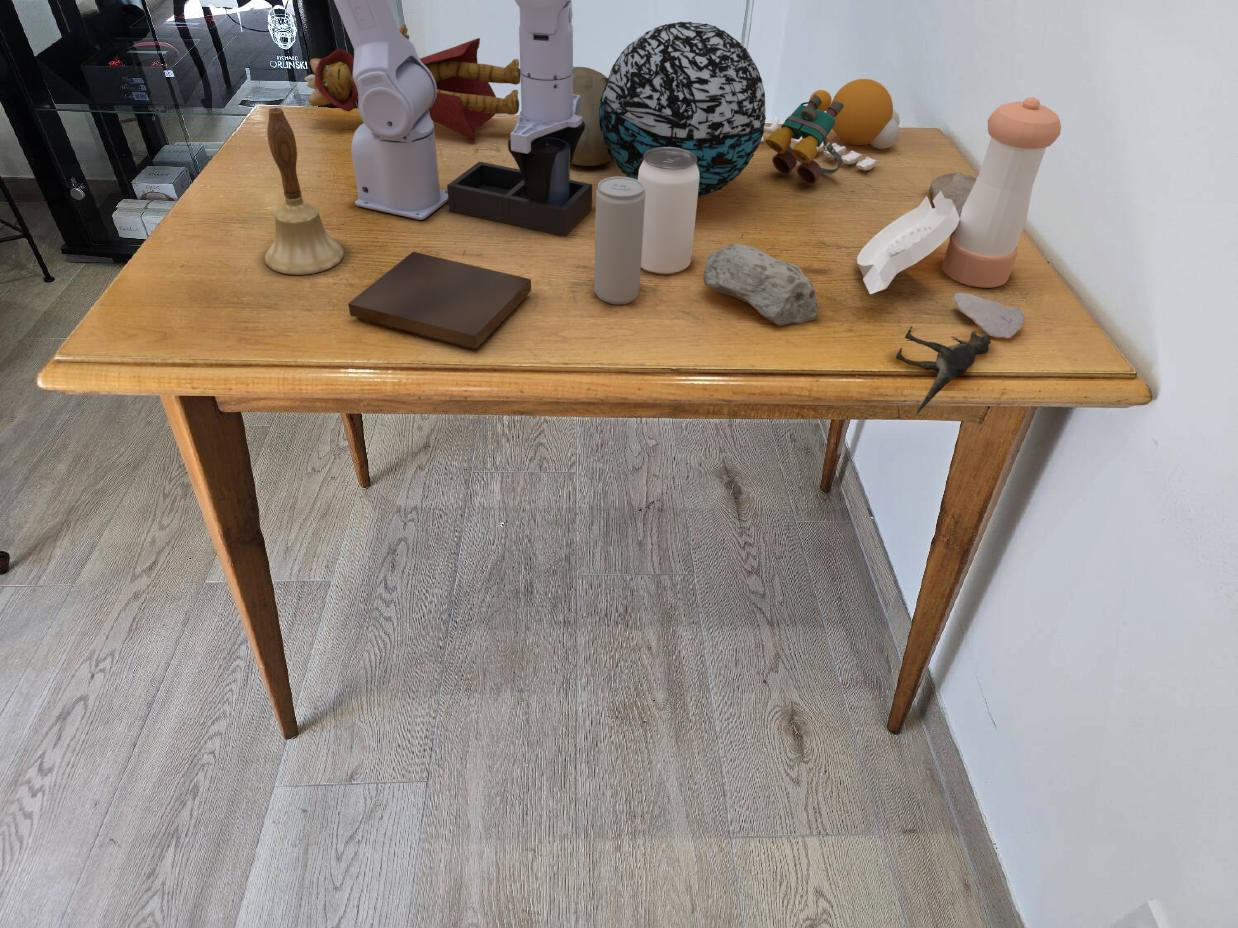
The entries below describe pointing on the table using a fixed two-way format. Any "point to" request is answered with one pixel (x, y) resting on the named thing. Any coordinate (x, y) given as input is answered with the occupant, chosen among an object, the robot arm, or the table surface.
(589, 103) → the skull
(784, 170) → the binoculars
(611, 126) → the decorative sphere
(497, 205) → the rack
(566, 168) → the tumbler
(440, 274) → the shelf
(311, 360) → the table surface
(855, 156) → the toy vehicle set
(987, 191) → the pepper shaker
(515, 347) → the table surface
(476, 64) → the figurine
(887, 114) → the toy
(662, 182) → the can
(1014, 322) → the stone
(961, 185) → the stone
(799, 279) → the decorative stone
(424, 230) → the table surface
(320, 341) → the table surface
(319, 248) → the hand bell
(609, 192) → the beverage can
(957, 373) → the dinosaur
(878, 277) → the two-handled dish
